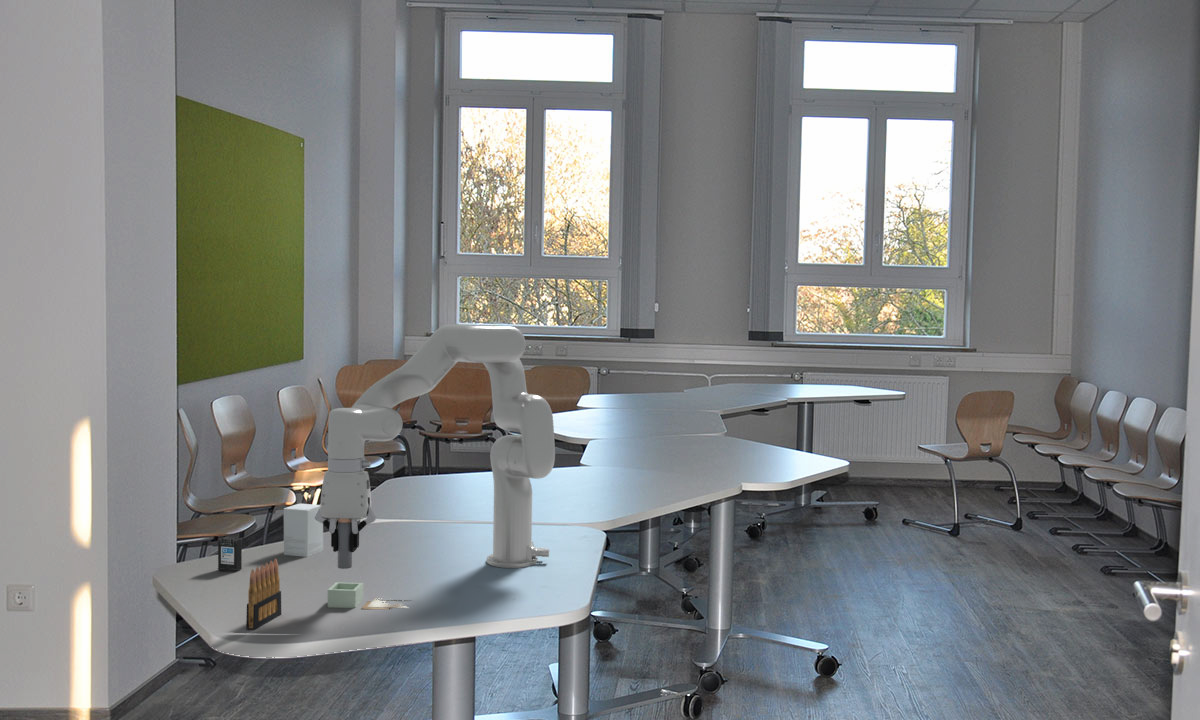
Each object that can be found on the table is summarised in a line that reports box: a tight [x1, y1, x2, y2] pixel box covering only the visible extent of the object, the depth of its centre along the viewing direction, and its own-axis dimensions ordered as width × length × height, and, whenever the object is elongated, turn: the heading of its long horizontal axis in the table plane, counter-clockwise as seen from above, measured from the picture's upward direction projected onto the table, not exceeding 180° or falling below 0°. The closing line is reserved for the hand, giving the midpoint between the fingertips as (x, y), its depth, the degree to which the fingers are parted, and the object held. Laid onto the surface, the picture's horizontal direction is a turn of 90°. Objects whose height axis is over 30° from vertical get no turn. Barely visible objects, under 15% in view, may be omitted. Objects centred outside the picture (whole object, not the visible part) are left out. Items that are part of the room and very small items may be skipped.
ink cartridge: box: [217, 536, 243, 573], centre depth 247 cm, size 5×2×8 cm, turn 80°
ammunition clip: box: [245, 558, 282, 631], centre depth 208 cm, size 11×2×12 cm, turn 168°
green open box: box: [327, 581, 364, 609], centre depth 221 cm, size 6×6×4 cm
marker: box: [337, 519, 353, 570], centre depth 220 cm, size 3×3×12 cm
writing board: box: [361, 598, 413, 610], centre depth 222 cm, size 15×12×1 cm
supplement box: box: [283, 503, 324, 558], centre depth 263 cm, size 7×7×13 cm
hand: (345, 549), depth 220 cm, fingers closed on marker, 3 cm apart
